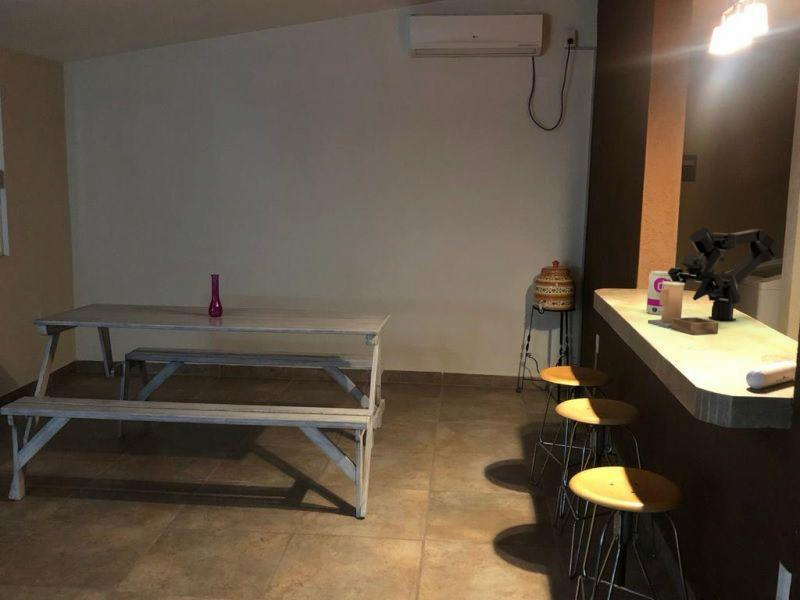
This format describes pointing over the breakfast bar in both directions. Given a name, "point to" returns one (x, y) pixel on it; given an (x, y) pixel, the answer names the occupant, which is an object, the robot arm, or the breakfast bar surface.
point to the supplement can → (656, 291)
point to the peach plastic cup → (671, 300)
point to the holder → (694, 325)
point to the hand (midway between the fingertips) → (682, 297)
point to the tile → (660, 323)
